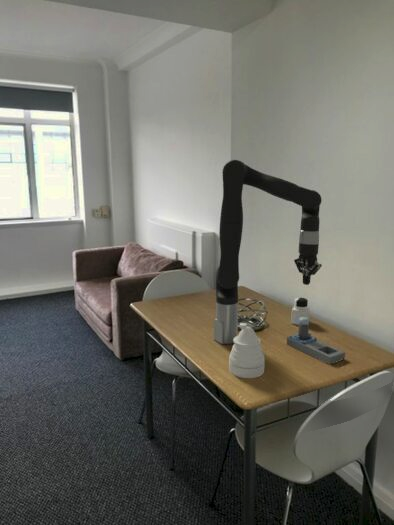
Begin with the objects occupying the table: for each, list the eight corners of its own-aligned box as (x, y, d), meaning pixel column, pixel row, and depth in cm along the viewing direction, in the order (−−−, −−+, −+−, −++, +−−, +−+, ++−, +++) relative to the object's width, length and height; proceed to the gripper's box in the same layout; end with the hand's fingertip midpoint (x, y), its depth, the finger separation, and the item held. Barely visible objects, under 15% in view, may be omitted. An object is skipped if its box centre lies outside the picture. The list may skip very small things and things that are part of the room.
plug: (302, 348, 173) (304, 321, 171) (295, 345, 177) (297, 318, 174) (309, 346, 175) (311, 319, 173) (302, 343, 179) (304, 316, 176)
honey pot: (239, 380, 147) (240, 332, 143) (222, 365, 159) (223, 320, 155) (271, 374, 152) (273, 326, 148) (252, 359, 164) (254, 315, 160)
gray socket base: (344, 359, 164) (345, 347, 163) (329, 364, 159) (330, 352, 158) (301, 339, 182) (302, 328, 181) (286, 344, 178) (287, 332, 177)
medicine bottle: (308, 321, 204) (310, 297, 202) (305, 326, 198) (307, 301, 195) (293, 319, 207) (295, 295, 205) (290, 323, 201) (291, 299, 198)
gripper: (289, 240, 170) (287, 281, 174) (315, 245, 159) (312, 289, 163) (303, 238, 174) (300, 279, 178) (328, 243, 163) (325, 286, 167)
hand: (306, 284), depth 170 cm, fingers closed
